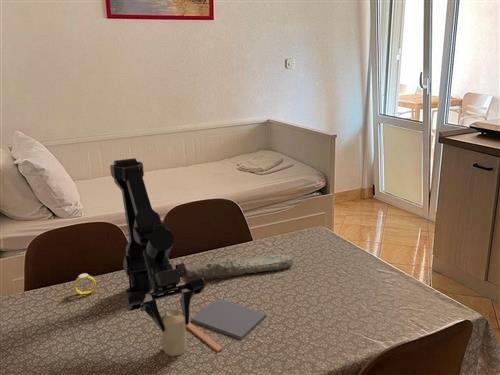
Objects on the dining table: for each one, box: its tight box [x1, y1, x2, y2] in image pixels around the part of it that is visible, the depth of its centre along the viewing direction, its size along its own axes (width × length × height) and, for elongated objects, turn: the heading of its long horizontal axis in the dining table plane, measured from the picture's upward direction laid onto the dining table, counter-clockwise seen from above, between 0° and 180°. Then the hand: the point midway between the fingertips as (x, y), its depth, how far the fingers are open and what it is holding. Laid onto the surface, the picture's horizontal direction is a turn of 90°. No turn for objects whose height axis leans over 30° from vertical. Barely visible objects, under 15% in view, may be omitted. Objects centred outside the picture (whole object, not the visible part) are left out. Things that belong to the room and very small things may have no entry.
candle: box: [161, 308, 188, 357], centre depth 113 cm, size 6×6×10 cm
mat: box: [190, 298, 267, 340], centre depth 127 cm, size 16×12×1 cm
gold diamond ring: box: [73, 272, 97, 296], centre depth 141 cm, size 6×3×6 cm, turn 105°
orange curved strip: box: [186, 321, 224, 353], centre depth 120 cm, size 18×2×1 cm, turn 40°
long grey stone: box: [186, 254, 294, 280], centre depth 153 cm, size 35×5×10 cm
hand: (175, 328), depth 111 cm, fingers closed on candle, 5 cm apart
